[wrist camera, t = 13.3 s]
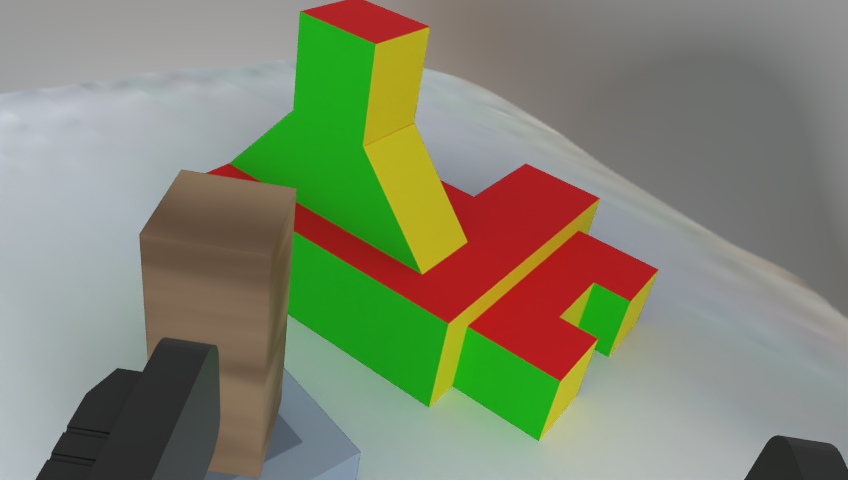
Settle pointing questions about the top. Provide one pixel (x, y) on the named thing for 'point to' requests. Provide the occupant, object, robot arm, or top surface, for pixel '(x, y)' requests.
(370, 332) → the building blocks toy
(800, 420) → the top surface
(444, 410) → the top surface
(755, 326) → the top surface
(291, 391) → the plinth
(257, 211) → the pillar
